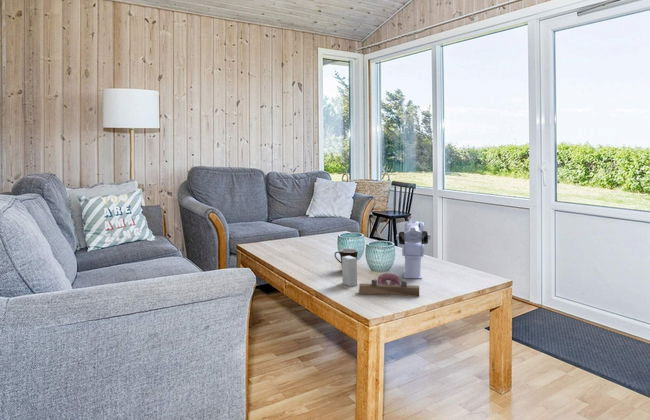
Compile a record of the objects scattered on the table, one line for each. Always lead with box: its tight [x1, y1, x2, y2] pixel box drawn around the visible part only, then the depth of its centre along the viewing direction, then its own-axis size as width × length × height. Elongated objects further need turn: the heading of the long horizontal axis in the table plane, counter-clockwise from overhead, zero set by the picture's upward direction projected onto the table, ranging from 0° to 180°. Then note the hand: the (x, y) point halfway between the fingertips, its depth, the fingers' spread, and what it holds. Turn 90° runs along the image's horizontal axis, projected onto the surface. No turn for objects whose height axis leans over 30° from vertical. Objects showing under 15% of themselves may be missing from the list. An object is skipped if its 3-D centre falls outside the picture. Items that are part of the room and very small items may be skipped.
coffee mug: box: [334, 248, 359, 265], centre depth 221 cm, size 12×9×10 cm
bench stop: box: [358, 279, 420, 297], centre depth 184 cm, size 3×24×6 cm, turn 82°
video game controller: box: [376, 272, 401, 285], centre depth 194 cm, size 10×5×7 cm, turn 92°
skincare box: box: [341, 256, 358, 287], centre depth 197 cm, size 6×4×12 cm
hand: (412, 241), depth 189 cm, fingers open, 7 cm apart
